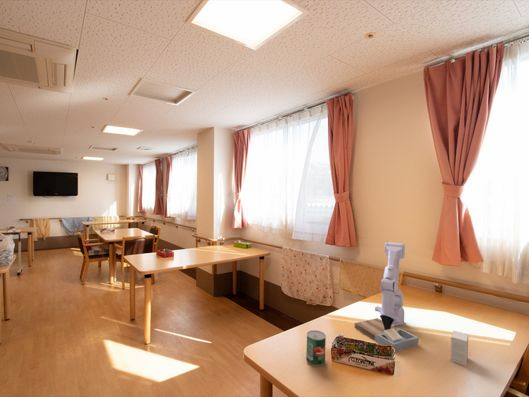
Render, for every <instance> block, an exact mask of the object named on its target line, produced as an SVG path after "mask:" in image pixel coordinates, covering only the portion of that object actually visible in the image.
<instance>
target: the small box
mask: <svg viewBox="0 0 529 397" xmlns="http://www.w3.org/2000/svg"><path fill="white" fill-rule="evenodd" d="M450 340H451V341H450V342H451V343H450V344H451V345H450V362H453V363H456V364H459V365H462V366H465V367H466V366H467V363H468V357H469V356H468V355H469V333H464V332H461V331H457V330H453V332H452V334H451V339H450Z"/></svg>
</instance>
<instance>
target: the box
mask: <svg viewBox="0 0 529 397" xmlns="http://www.w3.org/2000/svg"><path fill="white" fill-rule="evenodd" d="M395 331H396V332H397V333H398V334H399V335H400V336H401V337H402V341H399V342H395V343H393V342H391V341H389V340H388V339H387V337H386V336H385V335H384V334H377V335H375V340H374V341H375V342H377V343H378V344H379V345H381V344H382V345H381V346H383V345H392V346H393V348H394V349H395V352H394V353H396V352H400V351H403V350H406V349H410V348H413V347H417V346H419V337H418V336H416V335H414V334H412V333H410V332H408V331H406V330H404V329H402V328H399V330H395Z"/></svg>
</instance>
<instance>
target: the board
mask: <svg viewBox="0 0 529 397" xmlns="http://www.w3.org/2000/svg"><path fill="white" fill-rule="evenodd" d="M392 328H394V329H395V330H399V329H400V328H399V329H398V328H397V327H396V326H391V328H390V329H392ZM354 329H356V330H358V331H359V332H361V333H362V334H364V335H365V336H367V338H371V340H373V341H375V335H377V334H383V332H384V330H385V329H384V325H383V322H382V320H381V318H373V319H368V320H362V321H358V322H354Z"/></svg>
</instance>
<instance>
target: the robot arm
mask: <svg viewBox="0 0 529 397" xmlns="http://www.w3.org/2000/svg"><path fill="white" fill-rule="evenodd" d="M405 252H406V245H405V243H402V242H401V243H400V242H390V241H386V242H384V253H385V256H386V257H387V265H386V266H385V267H384V271H383V278H381V281H380V291H381V292H380V293H381V306H375V307H374V311H375V312H378V313H380V315H379V319H380V320H382V322H383V325H384V329H385V330H388V329H390V328H391V326H393V327H397V326H401V325H405V324H406V322H405V309H404V307H403V305H404V293H403V291H402V290H400V289H399V277H400V275H399V274H400V262H401V260H402V259H405V254H406V253H405Z"/></svg>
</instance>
